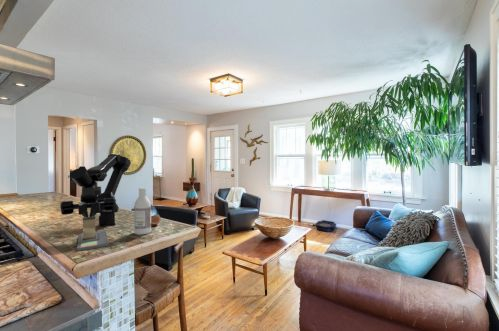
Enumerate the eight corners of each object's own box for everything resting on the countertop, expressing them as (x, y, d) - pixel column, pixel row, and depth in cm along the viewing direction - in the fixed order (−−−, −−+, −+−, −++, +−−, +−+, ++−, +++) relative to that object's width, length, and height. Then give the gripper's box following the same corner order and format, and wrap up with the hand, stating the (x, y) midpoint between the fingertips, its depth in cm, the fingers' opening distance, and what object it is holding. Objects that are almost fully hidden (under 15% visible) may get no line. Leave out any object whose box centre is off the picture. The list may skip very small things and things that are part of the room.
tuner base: (80, 236, 104) (80, 227, 104) (106, 232, 109) (106, 224, 109) (77, 251, 87) (77, 240, 87) (108, 246, 92) (107, 236, 92)
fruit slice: (149, 228, 116) (149, 218, 116) (139, 226, 119) (139, 216, 119) (163, 224, 123) (163, 214, 123) (154, 223, 126) (153, 213, 126)
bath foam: (151, 233, 108) (151, 188, 107) (134, 235, 105) (134, 189, 104) (150, 229, 114) (150, 186, 114) (134, 231, 111) (133, 187, 111)
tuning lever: (82, 239, 95) (82, 217, 95) (96, 237, 98) (95, 216, 97) (82, 240, 94) (82, 218, 94) (96, 238, 96) (95, 217, 96)
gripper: (60, 181, 97) (56, 214, 87) (114, 179, 106) (116, 209, 97) (63, 198, 103) (60, 230, 94) (113, 195, 113) (115, 224, 104)
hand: (88, 223), depth 97 cm, fingers closed
